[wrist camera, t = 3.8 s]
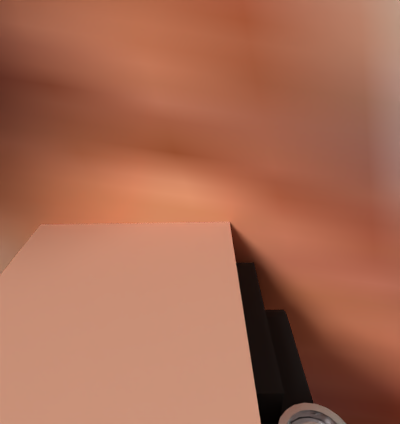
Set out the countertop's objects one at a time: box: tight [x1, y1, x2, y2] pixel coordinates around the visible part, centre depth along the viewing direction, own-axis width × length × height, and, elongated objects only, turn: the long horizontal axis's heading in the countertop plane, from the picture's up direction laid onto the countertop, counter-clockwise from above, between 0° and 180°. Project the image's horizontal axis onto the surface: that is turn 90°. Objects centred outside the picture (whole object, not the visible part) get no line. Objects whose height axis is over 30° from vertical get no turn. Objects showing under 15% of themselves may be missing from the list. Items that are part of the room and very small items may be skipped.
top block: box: [0, 222, 261, 424], centre depth 8 cm, size 5×5×6 cm
